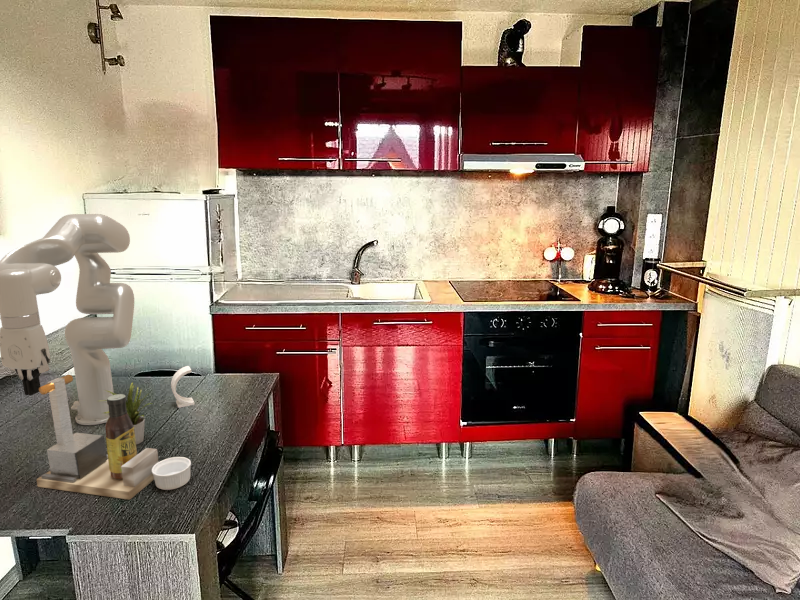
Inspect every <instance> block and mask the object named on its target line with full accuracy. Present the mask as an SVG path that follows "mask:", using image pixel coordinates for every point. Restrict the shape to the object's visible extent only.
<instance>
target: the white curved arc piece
mask: <svg viewBox="0 0 800 600" xmlns="http://www.w3.org/2000/svg"><path fill="white" fill-rule="evenodd" d="M190 373H192V368H191V366H190V365H186V366H183V367H181V368H179V369H178V370H177V371H175V373H174V374H173V376H172V378H171V382H170V387H171V391H172V393H173V395H174V398H175V399H176V400H175V403H176V406H177V408H178V409H180V408H184V407H185V408H186V407H189V406H190V407H191V406H195V405H196V403H195V401H194V399H193V397H185V396H181V395H180V394H178V393H177V386H178V385H177V384H178V383H179V381H180V379H182V378H183V377H184V376H185V375H187V374H190Z"/></svg>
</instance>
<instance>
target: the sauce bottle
mask: <svg viewBox="0 0 800 600" xmlns="http://www.w3.org/2000/svg"><path fill="white" fill-rule="evenodd" d="M116 394H117V395H116ZM116 394H115V395H112V396H110V397H108V398H107V404H108V405H109V416H110V417H109V419H108V421H107V422H106V424H105V428H104V429H105V444H106V453H107V455H108V461H109V470H110V472H111V477H112V478H114V479H123V477H122V469H121V466H122V465H124V464H125V463H126V462H128V461H129V460H131V459H132V458H133V457H135V456H136V455H137V454H138V451H137V445H136V440H135V430H134V425H133V424H132V422H131V420H130V418H129V416H128V413H127V410H126V401H127V396H126V395H125V394H124V393H116Z"/></svg>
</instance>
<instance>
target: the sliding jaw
mask: <svg viewBox="0 0 800 600" xmlns="http://www.w3.org/2000/svg"><path fill="white" fill-rule="evenodd" d="M72 382H74V378H73V376H72V375H71V374H66V375H64V376H62V377H56V378H54V379H52V380H49V381H47V382H46V384H44V385H42V386H41V385H40V388H39V392H38V393H40V394H41V395H42V396H43V395H47V394H48V397H49V401H50V402H49V403H50V409H51V413H52V414H51V415H52V421H53V429H54V434H55V440H56V444H54V445H52V446H50V447H49V448H48V449H46V452H47V458H48V459H47V460H48V465H49V471H51V474H53V475H60V476H68V477H75V478H79V479H80V478H82V477H83V476H85V475H86V474H88V473H89V472H90V471H92V470H93V469H95V468H96V467H98V466H99V465H101V464H102V463H103V462H105V461H106V460H107V455H108V453H107V446H106V439H105V435H101V434H91V433H82V432H75V433H73V427H72V420H71V414H70V413H71V412H70V408H69V407H70V406H69V400H68V393H67V387H66V385H68V384H70V383H72Z"/></svg>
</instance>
